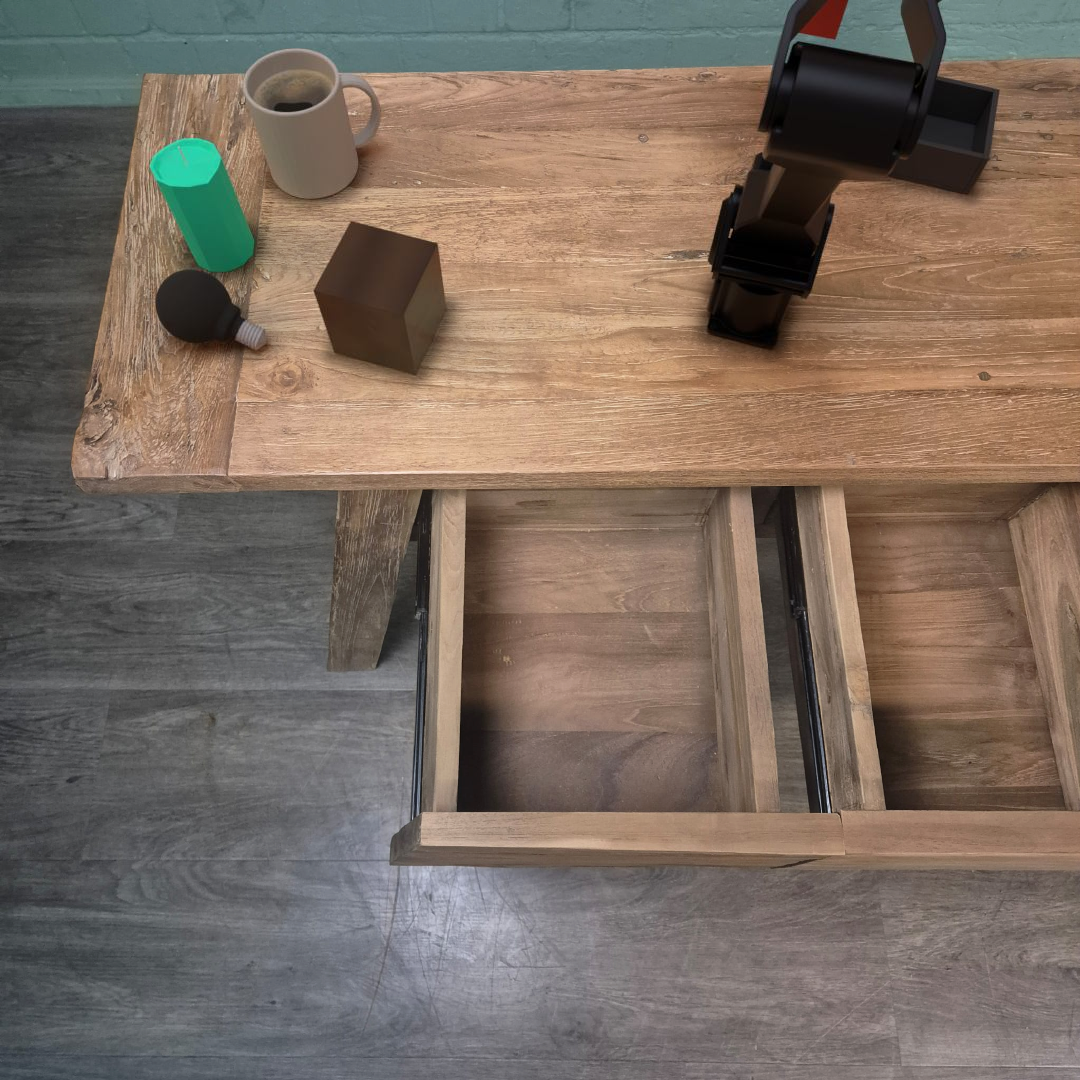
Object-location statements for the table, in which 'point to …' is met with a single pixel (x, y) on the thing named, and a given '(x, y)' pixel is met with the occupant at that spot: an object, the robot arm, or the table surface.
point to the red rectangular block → (826, 20)
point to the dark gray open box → (953, 137)
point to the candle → (204, 203)
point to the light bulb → (203, 311)
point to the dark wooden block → (382, 297)
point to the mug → (306, 121)
